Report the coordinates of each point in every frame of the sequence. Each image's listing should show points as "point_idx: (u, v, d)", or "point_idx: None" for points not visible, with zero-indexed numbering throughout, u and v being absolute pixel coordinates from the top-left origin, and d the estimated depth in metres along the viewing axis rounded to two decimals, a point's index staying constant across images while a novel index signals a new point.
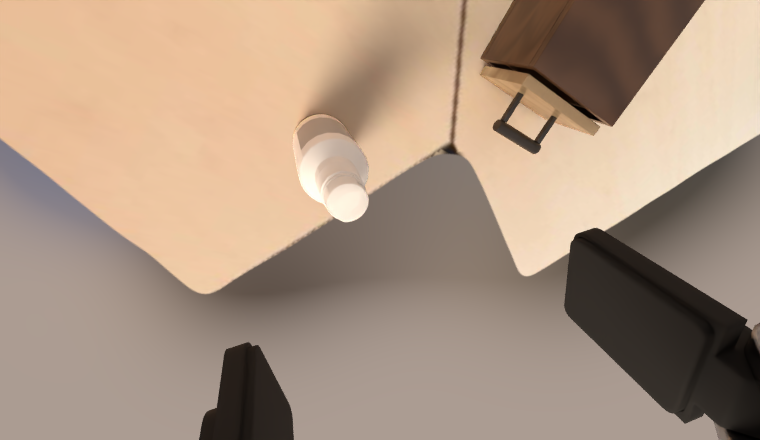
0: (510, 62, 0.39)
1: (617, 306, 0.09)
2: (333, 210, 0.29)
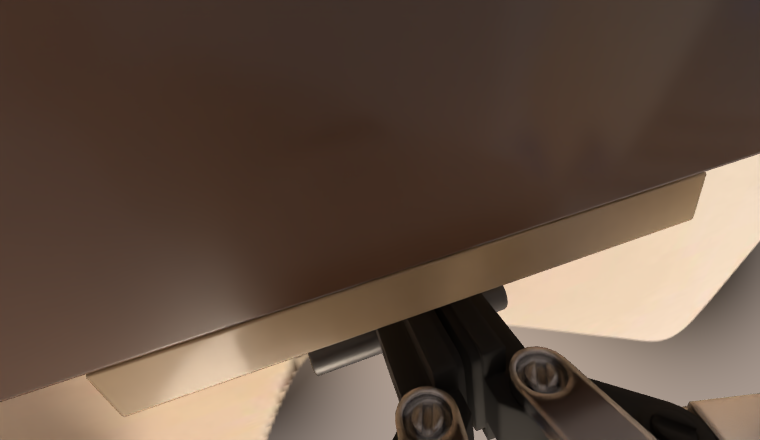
0: None
1: None
2: None
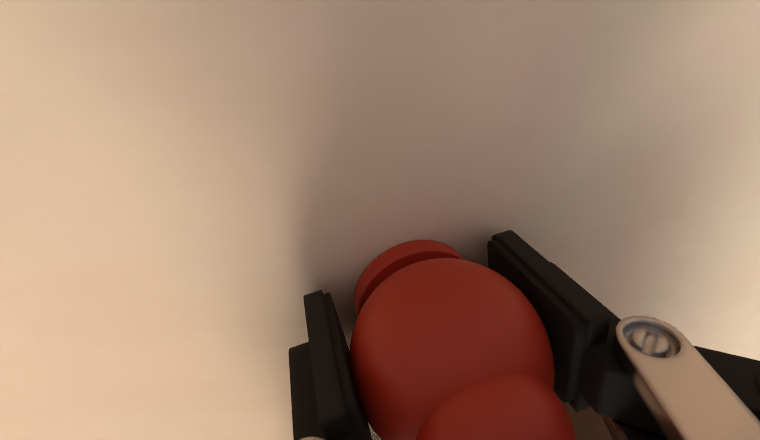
0: None
1: None
2: None
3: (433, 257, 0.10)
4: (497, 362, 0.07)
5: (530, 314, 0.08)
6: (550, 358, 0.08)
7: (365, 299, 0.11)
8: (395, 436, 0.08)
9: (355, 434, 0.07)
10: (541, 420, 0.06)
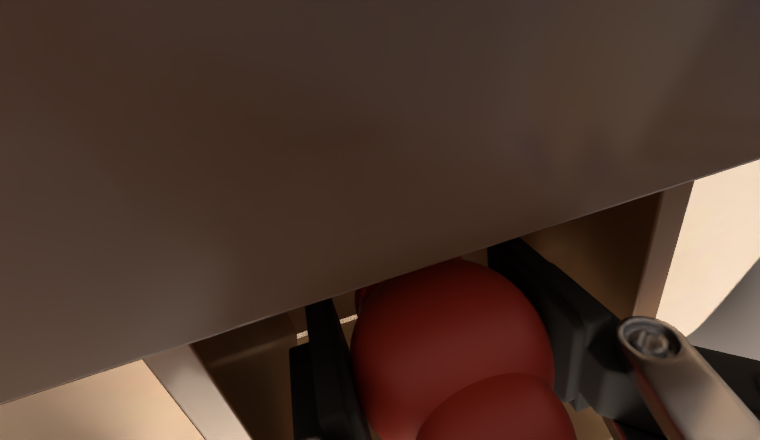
0: None
1: None
2: None
3: None
4: (497, 362, 0.07)
5: (530, 313, 0.08)
6: (550, 358, 0.08)
7: (365, 299, 0.11)
8: (395, 436, 0.08)
9: (355, 434, 0.07)
10: (541, 420, 0.06)
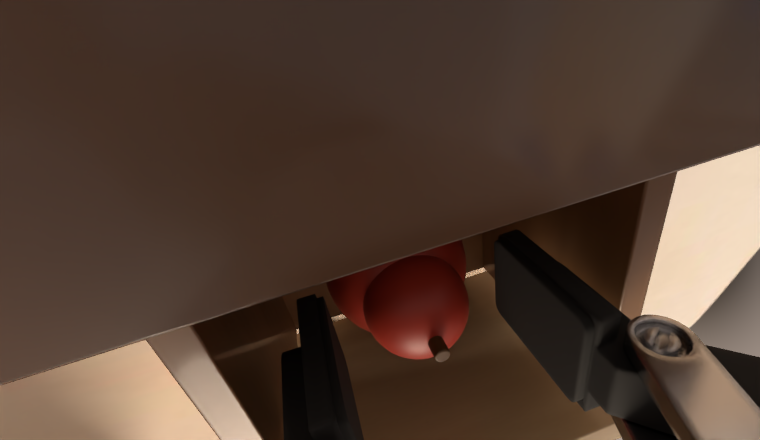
0: None
1: (529, 303, 0.10)
2: None
3: None
4: None
5: None
6: (458, 254, 0.12)
7: None
8: (351, 303, 0.11)
9: None
10: (438, 277, 0.10)
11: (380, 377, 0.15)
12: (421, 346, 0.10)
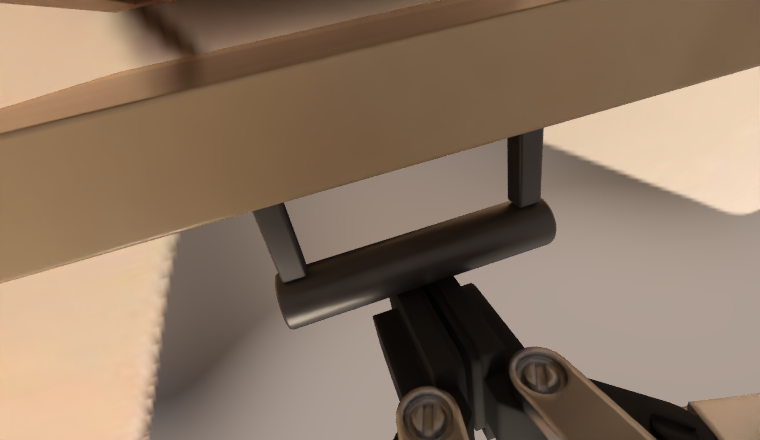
0: None
1: None
2: None
3: None
4: None
5: None
6: None
7: None
8: None
9: None
10: None
11: (284, 40, 0.07)
12: None
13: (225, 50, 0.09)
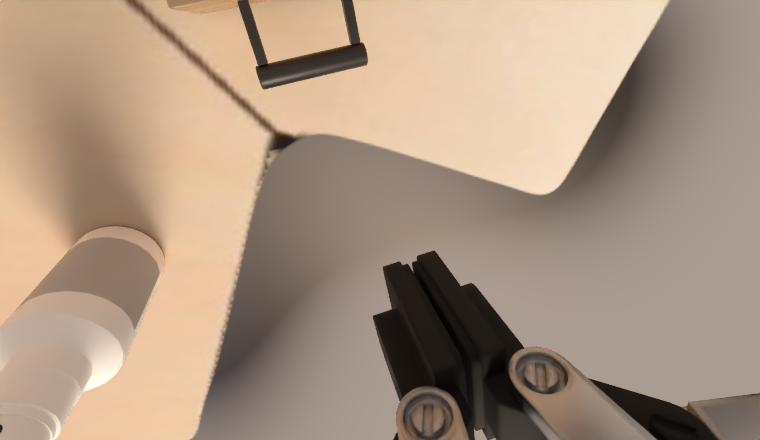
0: None
1: None
2: None
3: None
4: None
5: None
6: None
7: None
8: None
9: None
10: None
11: None
12: None
13: None
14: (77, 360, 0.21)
